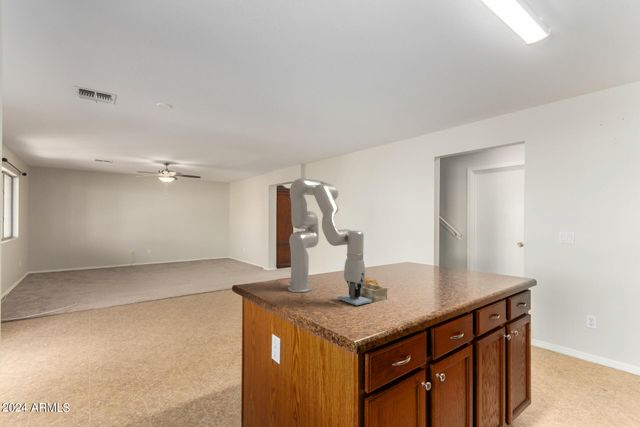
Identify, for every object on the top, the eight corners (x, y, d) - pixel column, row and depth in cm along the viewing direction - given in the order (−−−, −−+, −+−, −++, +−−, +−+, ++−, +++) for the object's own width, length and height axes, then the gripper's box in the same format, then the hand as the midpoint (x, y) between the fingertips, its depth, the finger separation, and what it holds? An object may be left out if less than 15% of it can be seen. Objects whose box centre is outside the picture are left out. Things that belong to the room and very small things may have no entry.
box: (356, 297, 159) (356, 285, 159) (368, 294, 164) (369, 283, 164) (374, 303, 149) (374, 290, 149) (387, 300, 155) (387, 288, 155)
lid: (337, 298, 152) (337, 282, 152) (352, 295, 158) (352, 279, 158) (356, 305, 142) (356, 287, 142) (372, 301, 148) (372, 284, 148)
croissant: (382, 301, 166) (389, 287, 166) (367, 293, 163) (374, 279, 164) (365, 290, 186) (371, 277, 187) (351, 283, 183) (357, 270, 184)
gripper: (337, 255, 154) (337, 293, 154) (361, 260, 141) (361, 301, 141) (349, 254, 158) (348, 291, 159) (373, 258, 145) (373, 299, 146)
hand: (354, 295), depth 150 cm, fingers closed on lid, 3 cm apart
